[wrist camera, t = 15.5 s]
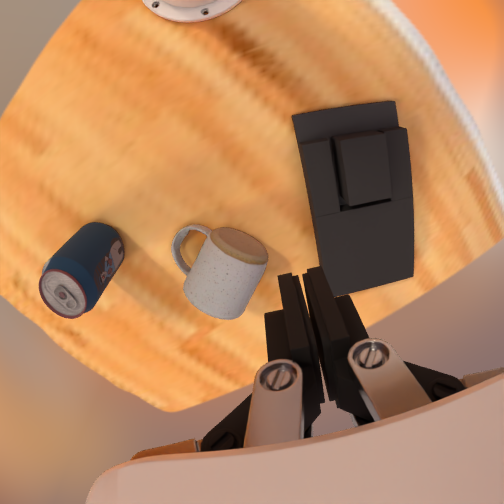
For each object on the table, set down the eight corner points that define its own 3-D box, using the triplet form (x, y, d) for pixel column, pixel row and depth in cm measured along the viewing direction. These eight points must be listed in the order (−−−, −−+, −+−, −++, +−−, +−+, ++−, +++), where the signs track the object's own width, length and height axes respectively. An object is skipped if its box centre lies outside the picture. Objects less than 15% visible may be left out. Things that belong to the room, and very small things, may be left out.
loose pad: (330, 136, 32) (339, 140, 29) (372, 129, 32) (385, 133, 29) (340, 196, 35) (349, 206, 32) (380, 188, 35) (392, 197, 32)
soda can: (71, 237, 38) (24, 286, 27) (103, 207, 36) (55, 252, 25) (104, 276, 40) (67, 332, 30) (138, 249, 39) (104, 306, 28)
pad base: (291, 115, 32) (295, 116, 29) (392, 100, 31) (402, 101, 28) (322, 286, 42) (327, 299, 39) (405, 266, 41) (413, 276, 38)
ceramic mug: (271, 239, 38) (275, 271, 31) (243, 292, 42) (242, 330, 35) (187, 204, 36) (173, 230, 29) (165, 262, 40) (150, 296, 33)
